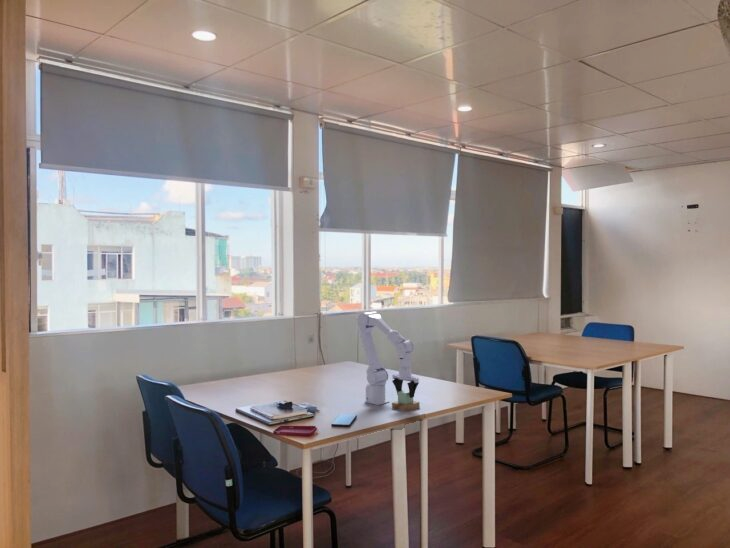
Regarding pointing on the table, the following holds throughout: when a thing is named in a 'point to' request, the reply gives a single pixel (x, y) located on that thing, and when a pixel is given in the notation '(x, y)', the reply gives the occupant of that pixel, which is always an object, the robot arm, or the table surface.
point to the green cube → (404, 397)
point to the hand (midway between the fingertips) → (405, 396)
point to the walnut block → (405, 406)
